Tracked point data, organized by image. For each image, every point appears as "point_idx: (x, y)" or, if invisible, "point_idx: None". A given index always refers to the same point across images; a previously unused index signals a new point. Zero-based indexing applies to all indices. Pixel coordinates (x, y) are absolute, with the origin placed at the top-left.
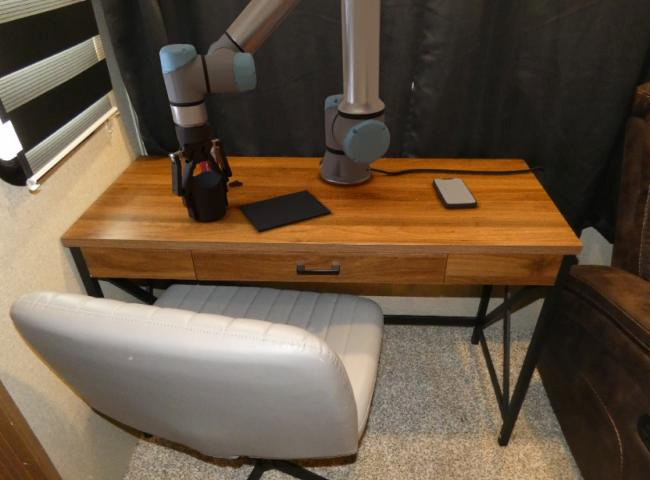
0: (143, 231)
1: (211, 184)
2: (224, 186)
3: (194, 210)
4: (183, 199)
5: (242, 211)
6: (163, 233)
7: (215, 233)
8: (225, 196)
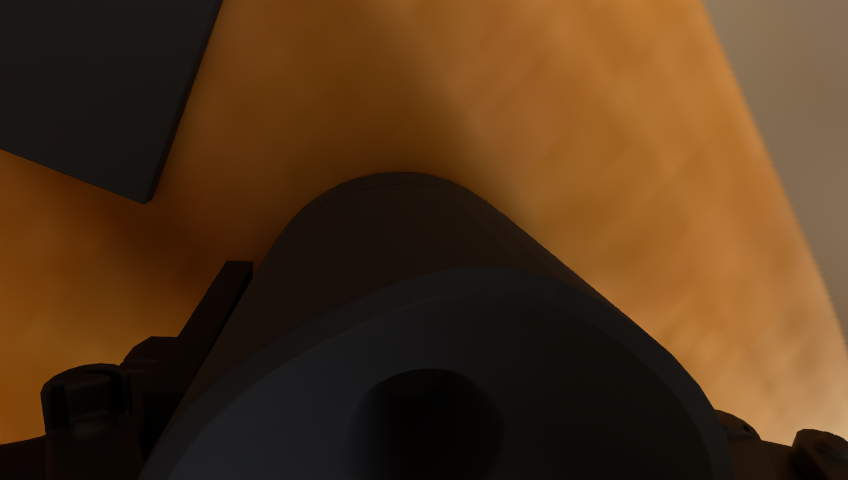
0: (774, 428)
1: (304, 467)
2: (173, 361)
3: None
4: None
5: (181, 115)
6: (748, 325)
7: (591, 21)
8: (218, 302)
